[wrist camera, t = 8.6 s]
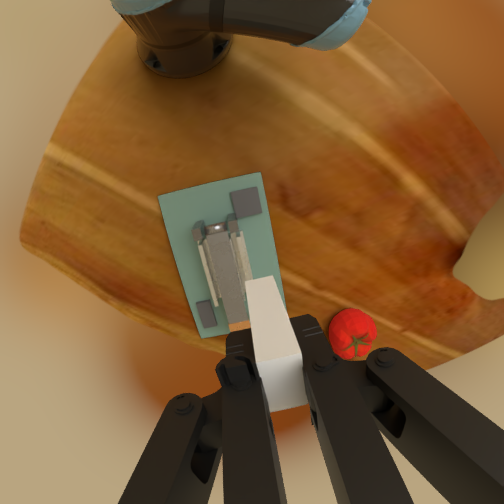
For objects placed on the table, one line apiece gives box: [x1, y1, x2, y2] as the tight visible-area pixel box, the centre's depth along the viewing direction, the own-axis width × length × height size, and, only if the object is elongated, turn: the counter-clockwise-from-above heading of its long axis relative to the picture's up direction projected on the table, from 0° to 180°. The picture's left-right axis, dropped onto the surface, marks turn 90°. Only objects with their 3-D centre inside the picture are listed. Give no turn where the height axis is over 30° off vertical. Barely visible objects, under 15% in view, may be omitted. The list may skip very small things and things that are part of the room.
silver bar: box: [191, 212, 253, 307], centre depth 43 cm, size 17×8×6 cm, turn 11°
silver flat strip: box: [204, 221, 251, 332], centre depth 41 cm, size 18×3×1 cm, turn 12°
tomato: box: [329, 308, 377, 359], centre depth 49 cm, size 9×9×8 cm
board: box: [158, 172, 287, 338], centre depth 46 cm, size 26×16×2 cm, turn 11°
